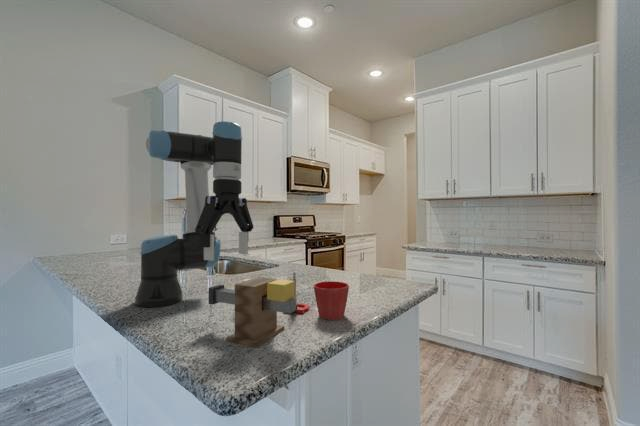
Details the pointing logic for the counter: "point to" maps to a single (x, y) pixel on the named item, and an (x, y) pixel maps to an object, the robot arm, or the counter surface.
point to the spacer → (280, 290)
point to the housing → (253, 314)
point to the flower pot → (331, 299)
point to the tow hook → (300, 310)
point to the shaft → (288, 306)
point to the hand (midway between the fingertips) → (227, 256)
